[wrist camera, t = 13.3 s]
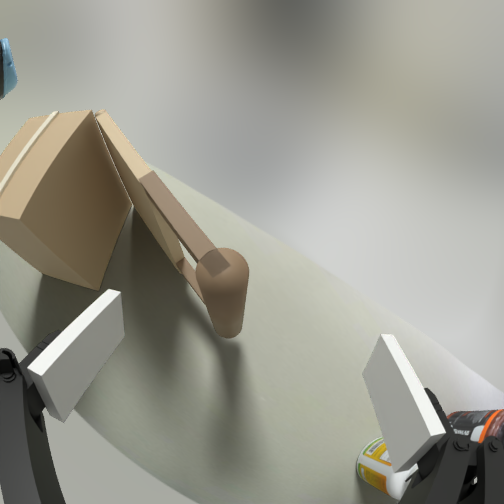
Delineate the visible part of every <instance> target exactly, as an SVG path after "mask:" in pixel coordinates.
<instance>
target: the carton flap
mask: <svg viewBox="0 0 504 504" xmlns="http://www.w3.org/2000/svg"><path fill="white" fill-rule="evenodd" d="M95 117H96V120H97V122H98V125H99V128H100V130H101V133H102V135H103V138H104V140H105V143H106V145H107V148H108V150H109V152H110V155H111V157H112V159H113V162H114V164H115V166H116V169H117V171H118V173H119V175H120V178H121V180H122V182H123V184H124V186H125V189H126V191H127V193H128V195H129V197H130V199H131V201H132V203H133V205H134V207H135V209H136V210H137V212H138V213H139V215H140V216H141V218H142V219H143V221H144V222H145V224H146V225H147V227H148V228H149V230H150V231H151V233H152V234H153V236H154V237H155V239H156V240H157V242H158V243H159V245H160V246H161V247H162V249H163V250H164V252H165V253H166V255H167V256H168V258H169V259H170V260H171V262H172V263H173V265H174V266H175V267H176V269H177V270H178V272H179V273H180V274H182V275H183V276H184V277H185V279H186V280H187V281H188V283H189V284H190V285H191V287H192V288H193V289H194V291H195V292H196V293H197V295H198V296H199V297H200V299H201V300H202V301H203V303H204V304H205V305H206V307H207V310H208V313H209V315H210V318H211V321H212V323H213V326H214V329H215V331H216V332H217V334H218V335H219V336H221V337H223V338H233V337H235V336H237V335H238V334H239V333H240V331H241V329H242V324H243V316H244V309H245V301H246V294H247V286H248V279H249V267H248V264H247V262H246V260H245V259H244V257H243V256H242V255H241V254H239V253H238V252H236V251H234V250H232V249H228V248H216V247H215V246H214V245H213V243H212V242H211V241H210V240H209V239H208V237H207V236H206V235H205V234H204V232H203V231H202V230H201V229H200V228H199V226H198V225H197V224H196V223H195V222H194V220H193V219H192V218H191V217H190V215H189V214H188V213H187V212H186V210H185V209H184V208H183V207H182V206H181V204H180V203H179V202H178V201H177V199H176V198H175V197H174V196H173V194H172V193H171V192H170V191H169V189H168V188H167V187H166V186H165V184H164V183H163V182H162V181H161V179H160V178H159V177H158V176H157V174H156V173H155V172H154V170H153V171H151V169H150V168H149V167H148V166H147V164H146V163H145V162H144V160H143V159H142V158H141V157H140V155H139V154H138V153H137V151H136V150H135V149H134V147H133V146H132V145H131V143H130V142H129V141H128V140H127V138H126V137H125V136H124V134H123V133H122V132H121V130H120V129H119V128H118V126H117V125H116V124H115V122H114V121H113V120H112V118H111V117H110V116H109V114H108V113H107V112H106V110H104V109H102V110H99V111H98V112H96V113H95ZM178 239H179V240H180V242H181V243H182V244H183V246H184V247H185V248H186V250H187V251H188V252H189V253H190V255H191V256H192V257H193V259H194V260H195V261H196V263H197V267H196V272H195V270H194V269H193V268H192V266H191V265H190V264H189V262H188V261H187V260H186V258H185V257H184V254H183V251H182V248H181V246H180V243H179V240H178Z"/></svg>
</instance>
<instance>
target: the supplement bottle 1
mask: <svg viewBox="0 0 504 504" xmlns="http://www.w3.org/2000/svg"><path fill="white" fill-rule="evenodd" d="M417 469H418V466H417V463H416V464H415V465H414V466H413V467H412V468H411V469H409V470H408V471H403V472H398V473H394V472H393V468H392V465H391V461H390V458H389V454H388V451H387V448H386V444H385V441H384V438H383V437H379V438H377V439H375V440H373V441H371V442H370V443H369V444H368V445H367V446H365V448H364V449H363V450H362V451H361V453H360V455H359V457H358V460H357V472H358V475H359V476H360V477H361V478H362V479H363V480H364V481H366V482H367V483H369V484H371V485H372V486H374V487H376V488H377V489H379V490H381V491H382V492H384V493H386V494H387V495H389V496H391V497H393V498H395V499H397V500H401V498H402V496H403V494H404V492H405V490H406V488H407V486H408V485H409V483H410V481H411V479H410V480H408V481H407V482H405V480H406V479H407V478H408V477H409V476H410V475H411V474H412V473H414V472H415V471H416V470H417Z"/></svg>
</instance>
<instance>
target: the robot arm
mask: <svg viewBox="0 0 504 504" xmlns="http://www.w3.org/2000/svg"><path fill="white" fill-rule="evenodd" d="M16 84H17V75H16V70H15V66H14V62H13V58H12V53H11V49H10V45H9V41H8V39H7V38H4V39H1V40H0V100H1V99H2V98H4V97H5V95H6V94H8V93H9V92H10V91H11V90H13V89H14V88H15V86H16ZM124 337H125V331H124V322H123V311H122V298H121V292H119V291H115V290H111V289H108V290H107V291H106V292H105V293H103V294H102V295H101V296H100V297H99V298H98V299H97V300H96V301H95V302H93V303H92V304H91V305H90V306H89V307H88V308H87V309H86V310H85V311H84V312H83V313H82V314H81V315H79V316H78V317H77V318H76V319H75V320H74V321H73V322H72V323H71V324H70V325H69V326H68V327H67V328H66V329H65V330H64V331H63V332H62V331H60V330H57V331H55V332H53V333H51V334H49V335H48V336H47V337H46V338H45V339H43V340H42V343H41V342H40V343H39V344H38V345H37V347H35V348H34V349H33V350H32V351H31V352H30V353H29V354H28V355H27V356H26V357H25V358H24V359H23V360H22V361H21V362H20V363H19V364H18V361H17V359H16V356H15V354H14V353H13V352H12V351H11V350H9V349H7V348H1V349H0V485H1V490H2V495H3V499H4V504H66V503H65V500H64V497H63V494H62V491H61V488H60V485H59V482H58V479H57V475H56V472H55V468H54V464H53V460H52V456H51V452H50V448H49V443H48V438H47V433H46V427H45V421H44V416H43V413H42V410H43V409H44V408H45V407H46V409H47V411H48V412H49V414H50V415H51V416H53V417H54V418H56V419H58V420H60V421H62V422H63V423H64V422H65V420H66V419H67V417H68V416H69V414H70V412H71V411H72V410H73V408H74V407H75V405H76V404H77V402H78V401H79V399H80V398H81V397H82V395H83V394H84V392H85V391H86V389H87V388H88V386H89V385H90V384H91V382H92V381H93V379H94V378H95V376H96V375H97V374H98V372H99V371H100V369H101V368H102V367H103V365H104V364H105V363H106V361H107V360H108V358H109V357H110V356H111V354H112V353H113V352H114V350H115V349H116V347H117V346H118V345H119V343H120V342H121V341H122V339H123V338H124ZM362 375H363V378H364V381H365V383H366V386H367V389H368V392H369V395H370V398H371V401H372V404H373V407H374V410H375V413H376V416H377V419H378V422H379V425H380V428H381V431H382V435H383V438H384V441H385V444H386V448H387V451H388V454H389V458H390V461H391V465H392V468H393V472H394V473H398V472H403V471H408V470H409V469H411V468H412V467H413V466H414V465H415V464H416V463H417V466H418V469H417V470H416V471H415V472H414V473H412V474H411V475H410V476H409V477H408V478H407V479H406V480H405V482H407V481H408V480H410V479H411V481H410V483H409V485H408V486H407V488H406V490H405V492H404V494H403V496H402V498H401V500H400V501H399V503H398V504H504V449H503V445H502V442H501V441H500V439H499V438H497V437H495V436H488V437H486V438H485V439H484V440H483V441H482V442H481V443H470V441H469V440H468V438H467V437H465V436H464V435H462V434H455V432H454V430H453V428H452V426H451V424H450V422H449V421H448V419H447V417H446V415H445V413H444V411H442V410H443V409H442V407H441V405H439V402H438V400H437V398H436V396H435V395H434V394H433V393H432V392H431V391H430V390H429V389H428V388H423V386H422V384H421V383H420V381H419V379H418V377H417V375H416V374H415V372H414V370H413V368H412V366H411V365H410V363H409V361H408V359H407V358H406V356H405V354H404V353H403V351H402V349H401V347H400V346H399V344H398V342H397V341H396V339H395V337H394V336H393V335H387V334H380V337H379V339H378V341H377V344H376V346H375V348H374V350H373V352H372V355H371V357H370V359H369V361H368V363H367V365H366V367H365V369H364V371H363V373H362ZM476 477H477V483H475V484H474V479H475V478H476Z"/></svg>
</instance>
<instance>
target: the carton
mask: <svg viewBox="0 0 504 504" xmlns="http://www.w3.org/2000/svg"><path fill="white" fill-rule="evenodd" d="M131 206H132V203H131V201H130V199H129V197H128V195H127V192H126V190H125V188H124V186H123V184H122V182H121V180H120V177H119V175H118V173H117V171H116V168H115V166H114V164H113V162H112V159H111V157H110V155H109V152H108V150H107V147H106V145H105V143H104V140H103V138H102V135H101V133H100V130H99V128H98V125H97V123H96V120H95V117H94V115H93V112H92V110H85V111H75V112H66V113H59V111H56V112H52V113H51V115H45V116H39V117H34V118H29V119H28V121H27V122H26V123H25V124H24V125H23V126H22V128H21V129H20V130H19V131H18V133H17V134H16V135H15V136H14V138H13V139H12V141H11V142H10V143H9V144H8V146H7V147H6V148H5V150H4V151H3V153H2V154H1V156H0V240H1V241H2V242H4V243H5V244H6V245H7V246H8V247H9V248H11V249H12V250H13V251H14V252H15V253H17V254H18V255H19V256H20V257H22V258H23V259H24V260H25V261H27V262H28V263H29V264H30V265H32V266H33V267H34V268H36V269H37V270H38V271H39V272H41V273H42V274H45V275H48V276H51V277H54V278H57V279H60V280H63V281H66V282H70V283H73V284H76V285H79V286H83V287H86V288H89V289H93V290H96V291H99V289H100V286H101V283H102V280H103V277H104V274H105V271H106V268H107V266H108V263H109V260H110V257H111V255H112V252H113V249H114V247H115V244H116V242H117V239H118V236H119V234H120V231H121V229H122V227H123V224H124V222H125V219H126V217H127V215H128V212H129V210H130V208H131Z"/></svg>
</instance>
